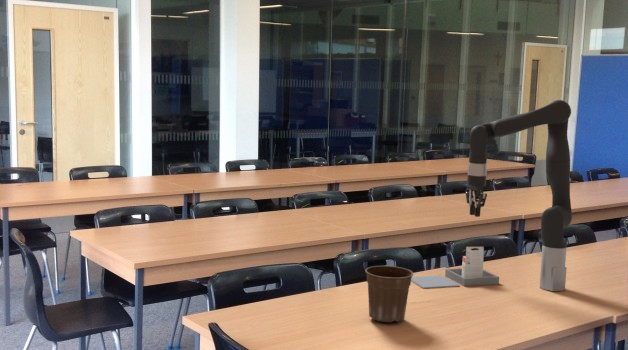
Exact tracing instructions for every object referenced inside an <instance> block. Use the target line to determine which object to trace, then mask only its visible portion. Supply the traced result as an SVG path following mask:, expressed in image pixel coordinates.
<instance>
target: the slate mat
mask: <svg viewBox="0 0 628 350" xmlns="http://www.w3.org/2000/svg"><path fill="white" fill-rule="evenodd" d="M411 283H413V284H415V285H416V286H418V287H420V288H422V289H424V290H425V289H440V288H441V289H442V288H454V287H457V288H458V287H460V284H459V283H457V282H455V281H453V280H452V279H450V278H448V277H446V276H445V275H444V276H443V275H441V274H437V275H436V274H435V275H433V274H432V275H421V276H420V275H419V276H412V278H411Z"/></svg>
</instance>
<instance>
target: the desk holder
mask: <svg viewBox="0 0 628 350" xmlns="http://www.w3.org/2000/svg"><path fill="white" fill-rule="evenodd" d="M444 273H445V275H444V277H445V278H447V279H449V280H451V281H453V282H455V283H456V284H458V285H461V286H463V287H470V286H472V287H474V286H489V285H499V284H500V276H498V275H496V274H495V273H492V272H489V271H487V270H486V269H484V268H483V276H482V277H476V278H464V277H462V267H460V268H445V271H444Z"/></svg>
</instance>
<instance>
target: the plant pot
mask: <svg viewBox="0 0 628 350" xmlns="http://www.w3.org/2000/svg"><path fill="white" fill-rule="evenodd" d="M365 274H366V282H367V290H368V316H369V317H370V318H371V319H372V320H375V321H378V322H381V323H393V322H397V323H398V322H401V321H403V320H404V319H405V317H406V316H405V315H406V310H407V309H406V308H407V305H408V304H407V301H408V297H409V296H408V295H409V291H410V290H409V289H410V286H411V284H412V281H411V278H412V277H414V272H413V270H410V269H408V268H404V267H401V266H400V267H399V266H395V265H374V266H369V267H367V268H366V269H365Z"/></svg>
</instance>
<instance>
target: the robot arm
mask: <svg viewBox="0 0 628 350" xmlns="http://www.w3.org/2000/svg"><path fill="white" fill-rule="evenodd" d="M571 115H572V108H571V105H570V104H569V103H568V102H567V101H565V100H562V99H557V100H553V101H552V102H550V103H548V104H547V105H545V106H543V107H540V108H537V109H534V110H531V111H528V112H523V113H518V114H515V115H510V116H507V117H503V118H499V119H496V120H494V121H492V122H490V121H489V122H486V123H485V122H484V123H482V124H481V123H480V124H478V125H475V126H473V128H471V129H470V132H469V155H468V167H467V178H466V179H467V180H466V181H467V182H466V185H467V186H469V188H467V189H465V190H464V191H465V200H466V204H468V206H469V215H471V216H474V217H475V218H480V217H481V209H482V208H483V207H485V205H486V200H487V197H488V194H487V193H485V192H484V187H486V186H487V171H488V169H487V162H488V161H487V160H488V159H487V158H488V153H487V146H488V141H489V140H491V139H494V138H501V137H505V136H509V135H513V134H516V133H519V132H522V131H526V130H528V129H532V128H534V127H538V126H543V125H547V143H546V151H545V174H546V179H547V181H548V184H549V187H550V190H551V195H552V199H551V207H547V208H546V209H545V210H543V212H542V215H541V219H540V220H541V221H540V222H541V223H540V237H541V240H542V241H541V242H542V243H541V244H542V246H541V257H540V258H541V259H540V275H539V276H540V277H539V288H540V289H542V290H545V291H546V290H547V291H551V292H559V291H560V292H561V291H562V292H563V291H566V283H567V282H566V280H567V267H566V262H567V261H566V259H567V247H568V243H567V239H565V237H564V229H566V228H568V227H569V226H570V225H571V223H572V221H573V214H572V213H573V212H572V211H573V210H572V203H571V202H572V201H571V151H570V146H569V139H568V127H569V119H570V117H571Z"/></svg>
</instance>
